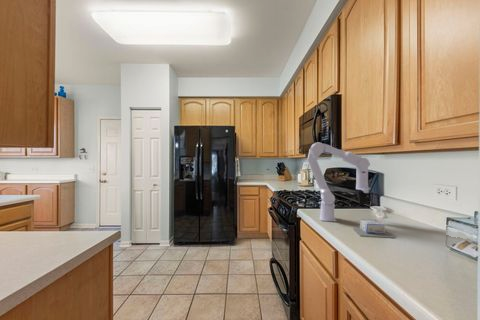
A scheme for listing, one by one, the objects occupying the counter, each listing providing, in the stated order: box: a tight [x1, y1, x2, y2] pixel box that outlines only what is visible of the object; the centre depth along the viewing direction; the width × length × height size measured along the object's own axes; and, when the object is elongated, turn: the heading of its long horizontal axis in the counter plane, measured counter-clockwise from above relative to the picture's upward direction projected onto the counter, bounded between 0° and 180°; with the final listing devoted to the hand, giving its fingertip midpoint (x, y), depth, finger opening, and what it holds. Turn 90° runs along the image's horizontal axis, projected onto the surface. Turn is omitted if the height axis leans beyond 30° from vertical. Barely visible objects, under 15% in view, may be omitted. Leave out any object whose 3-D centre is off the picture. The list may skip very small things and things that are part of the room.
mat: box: [352, 227, 396, 239], centre depth 108 cm, size 11×14×1 cm
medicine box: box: [359, 219, 386, 234], centre depth 110 cm, size 8×4×9 cm
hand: (361, 204), depth 129 cm, fingers closed
